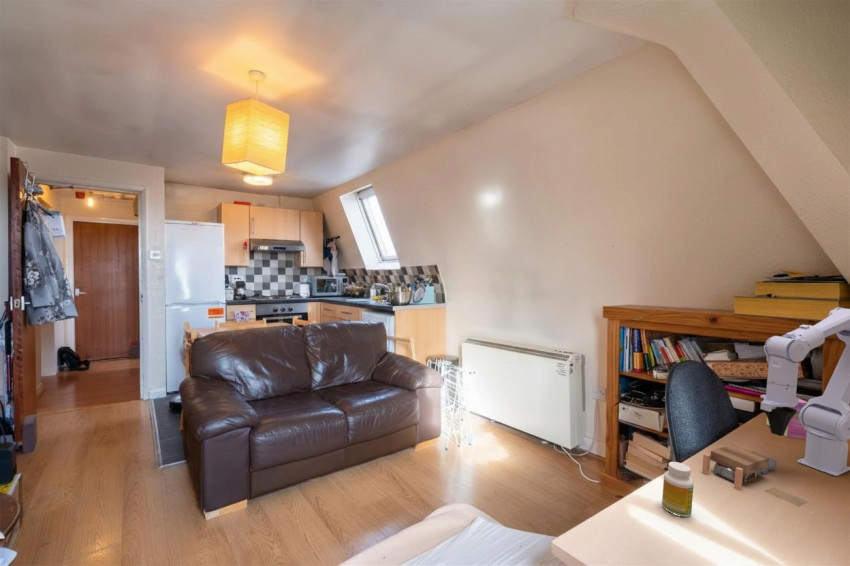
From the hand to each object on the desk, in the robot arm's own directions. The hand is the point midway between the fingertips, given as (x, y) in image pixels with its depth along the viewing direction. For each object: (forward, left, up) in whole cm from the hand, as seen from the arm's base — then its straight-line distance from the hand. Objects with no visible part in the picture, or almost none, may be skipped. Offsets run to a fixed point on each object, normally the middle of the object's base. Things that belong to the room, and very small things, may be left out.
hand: (777, 434), depth 103 cm
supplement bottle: (+42, 0, -10) cm, 43 cm away
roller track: (+9, +3, -10) cm, 13 cm away
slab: (+12, -2, -7) cm, 14 cm away
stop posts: (+19, -3, -10) cm, 22 cm away
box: (-36, -12, -10) cm, 39 cm away
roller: (+12, -3, -10) cm, 15 cm away
